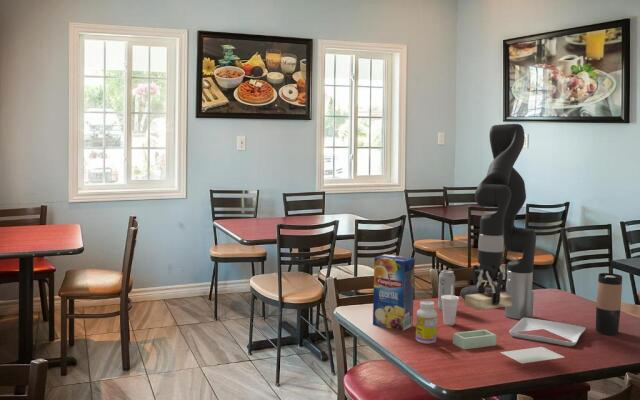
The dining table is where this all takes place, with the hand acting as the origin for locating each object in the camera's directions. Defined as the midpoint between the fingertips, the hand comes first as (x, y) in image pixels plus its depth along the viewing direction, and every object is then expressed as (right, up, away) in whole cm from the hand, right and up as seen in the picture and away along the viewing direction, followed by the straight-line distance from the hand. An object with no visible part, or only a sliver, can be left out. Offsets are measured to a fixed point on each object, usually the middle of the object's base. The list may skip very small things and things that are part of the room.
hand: (488, 301), depth 199 cm
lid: (0, -1, 0) cm, 1 cm away
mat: (+12, -16, -5) cm, 21 cm away
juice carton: (-27, -13, +26) cm, 40 cm away
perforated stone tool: (+11, -10, +59) cm, 60 cm away
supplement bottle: (-18, -15, +10) cm, 25 cm away
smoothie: (-6, -13, +29) cm, 32 cm away
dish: (-4, -15, +3) cm, 16 cm away
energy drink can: (-4, -11, +47) cm, 49 cm away
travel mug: (+47, -14, +23) cm, 54 cm away
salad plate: (+24, -15, +16) cm, 32 cm away
